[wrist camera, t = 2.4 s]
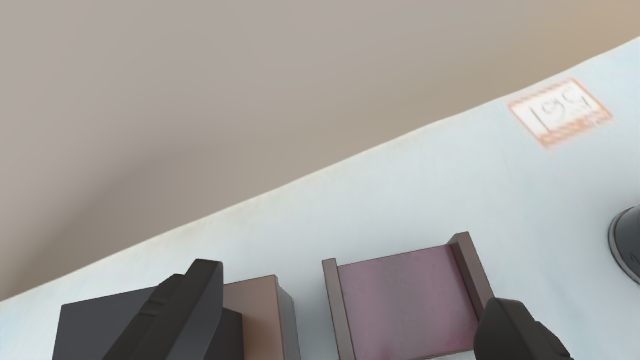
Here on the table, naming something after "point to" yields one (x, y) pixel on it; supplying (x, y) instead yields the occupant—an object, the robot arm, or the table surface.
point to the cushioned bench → (408, 302)
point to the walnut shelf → (264, 318)
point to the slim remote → (113, 317)
